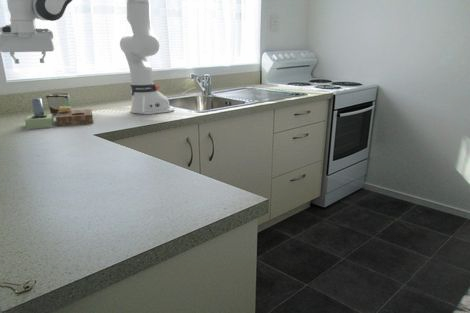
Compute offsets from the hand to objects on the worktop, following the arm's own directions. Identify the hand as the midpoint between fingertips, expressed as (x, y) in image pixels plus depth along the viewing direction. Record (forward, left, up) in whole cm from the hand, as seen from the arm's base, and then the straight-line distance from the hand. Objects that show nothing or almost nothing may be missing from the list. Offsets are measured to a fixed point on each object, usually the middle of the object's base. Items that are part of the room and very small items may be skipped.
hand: (29, 63), depth 157 cm
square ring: (0, 0, -27) cm, 27 cm away
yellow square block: (-11, -7, -26) cm, 29 cm away
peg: (0, 0, -27) cm, 27 cm away
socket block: (-14, -4, -27) cm, 31 cm away
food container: (-8, -28, -27) cm, 40 cm away
